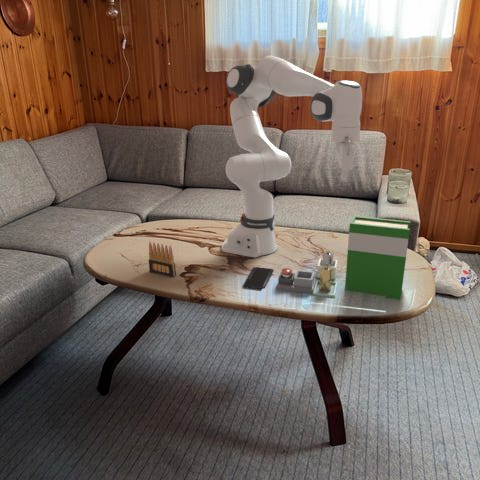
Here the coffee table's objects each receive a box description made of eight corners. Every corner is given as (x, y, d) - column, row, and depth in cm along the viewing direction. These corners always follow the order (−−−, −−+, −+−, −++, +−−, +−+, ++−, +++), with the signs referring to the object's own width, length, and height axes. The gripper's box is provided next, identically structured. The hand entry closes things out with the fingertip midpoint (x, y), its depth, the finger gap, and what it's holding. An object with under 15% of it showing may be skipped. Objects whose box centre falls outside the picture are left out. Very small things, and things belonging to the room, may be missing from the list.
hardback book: (402, 289, 153) (410, 221, 144) (400, 299, 147) (409, 229, 137) (348, 281, 159) (353, 215, 150) (344, 291, 153) (349, 223, 143)
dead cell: (321, 276, 162) (322, 253, 158) (322, 271, 165) (323, 249, 162) (331, 277, 161) (333, 254, 157) (332, 272, 164) (334, 250, 161)
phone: (274, 269, 167) (264, 288, 154) (274, 271, 168) (264, 291, 154) (253, 266, 169) (241, 285, 156) (253, 269, 170) (242, 288, 156)
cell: (320, 293, 152) (321, 269, 148) (319, 287, 155) (320, 264, 152) (331, 293, 151) (332, 269, 148) (329, 287, 155) (331, 264, 151)
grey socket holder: (276, 290, 154) (277, 277, 152) (281, 280, 161) (281, 267, 159) (312, 295, 150) (313, 281, 149) (316, 283, 158) (316, 270, 156)
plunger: (280, 280, 154) (280, 272, 153) (282, 276, 157) (282, 267, 156) (290, 281, 154) (290, 273, 152) (292, 277, 157) (292, 268, 155)
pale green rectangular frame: (312, 296, 150) (313, 292, 149) (316, 282, 158) (316, 279, 158) (334, 298, 148) (334, 295, 148) (337, 285, 156) (337, 282, 156)
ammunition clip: (176, 275, 166) (173, 245, 161) (173, 277, 164) (170, 246, 160) (152, 269, 171) (149, 240, 166) (149, 271, 169) (146, 241, 164)
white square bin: (317, 278, 161) (317, 265, 159) (319, 270, 167) (319, 258, 165) (335, 280, 159) (335, 267, 158) (336, 272, 165) (337, 260, 163)
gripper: (359, 140, 137) (356, 185, 142) (351, 129, 156) (348, 169, 161) (338, 140, 138) (335, 185, 143) (332, 129, 156) (330, 169, 162)
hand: (342, 176), depth 152 cm, fingers open, 8 cm apart
